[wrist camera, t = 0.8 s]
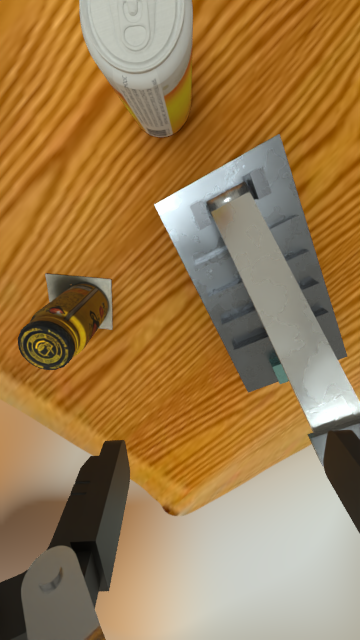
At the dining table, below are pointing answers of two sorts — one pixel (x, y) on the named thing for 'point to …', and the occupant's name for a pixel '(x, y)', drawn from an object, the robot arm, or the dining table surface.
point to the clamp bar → (286, 317)
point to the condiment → (66, 320)
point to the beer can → (144, 57)
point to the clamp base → (220, 271)
